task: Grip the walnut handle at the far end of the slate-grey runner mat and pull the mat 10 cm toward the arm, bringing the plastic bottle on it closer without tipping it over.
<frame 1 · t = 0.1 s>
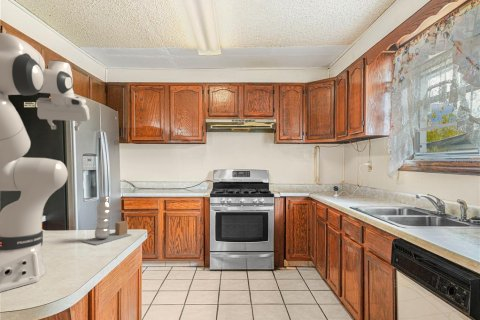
hand: (65, 129, 128), 52 cm above the countertop, tool tilted 20°, fingers open, 8 cm apart
plastic bottle: (101, 239, 134), point 1 cm above the countertop, touching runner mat
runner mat: (108, 231, 137), point 3 cm above the countertop, slide at 0.0 cm, touching plastic bottle
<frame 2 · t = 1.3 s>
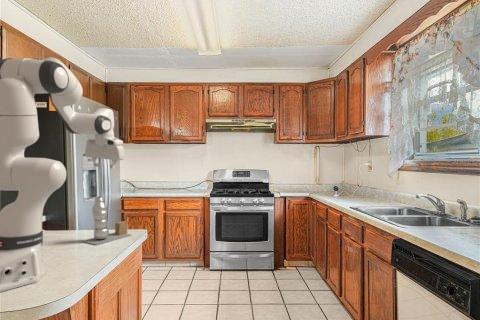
hand: (104, 167, 143), 35 cm above the countertop, tool pointing down, fingers open, 8 cm apart
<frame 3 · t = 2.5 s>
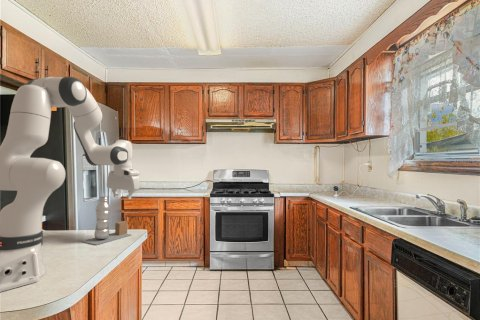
hand: (122, 198, 144), 19 cm above the countertop, tool pointing down, fingers open, 8 cm apart
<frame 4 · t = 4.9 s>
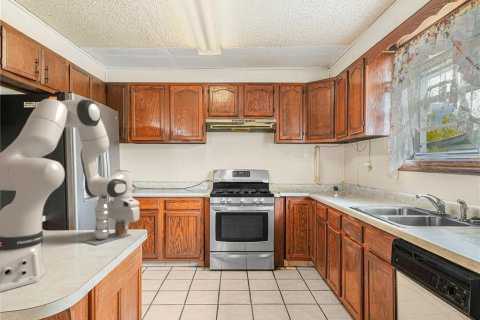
hand: (122, 228, 145), 3 cm above the countertop, tool pointing down, fingers open, 3 cm apart
plastic bottle: (101, 239, 134), resting on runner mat, touching arm
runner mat: (108, 231, 137), point 3 cm above the countertop, slide at 0.1 cm, touching gripper, plastic bottle
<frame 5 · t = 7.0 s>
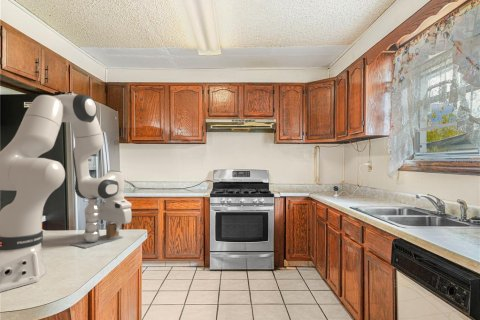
hand: (113, 230, 140), 3 cm above the countertop, tool pointing down, fingers open, 3 cm apart
plastic bottle: (91, 242, 129), resting on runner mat, touching arm
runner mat: (98, 234, 132), point 3 cm above the countertop, slide at 5.3 cm, touching gripper, plastic bottle
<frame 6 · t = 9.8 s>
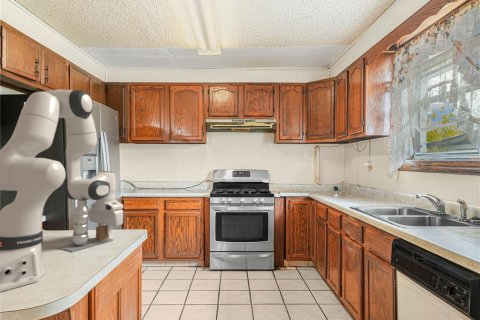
hand: (105, 232, 136), 3 cm above the countertop, tool pointing down, fingers open, 3 cm apart
plastic bottle: (79, 245, 124), resting on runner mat, touching arm
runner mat: (87, 236, 127), point 3 cm above the countertop, slide at 11.0 cm, touching plastic bottle
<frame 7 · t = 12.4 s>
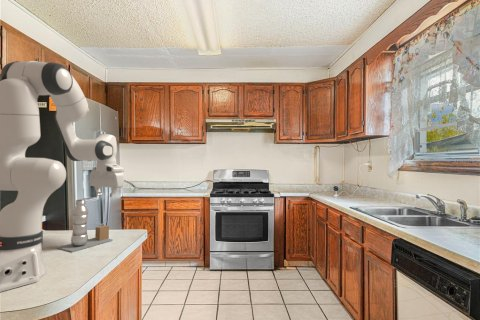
hand: (105, 196, 135), 21 cm above the countertop, tool pointing down, fingers open, 8 cm apart
plastic bottle: (79, 245, 124), resting on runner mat
everything else where it was.
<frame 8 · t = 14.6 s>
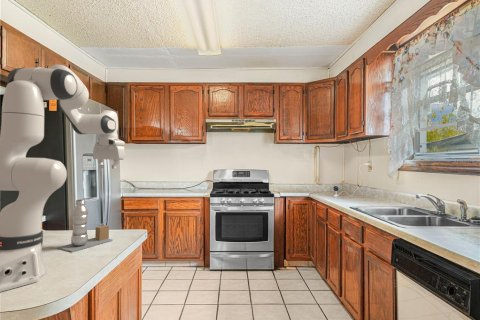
hand: (107, 168, 146), 34 cm above the countertop, tool pointing down, fingers open, 8 cm apart
nothing on the countertop moved.
at the end: plastic bottle inside the target area (1.1 cm from its centre), resting on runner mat; plastic bottle tilted 0°; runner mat slide at 11.2 cm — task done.
